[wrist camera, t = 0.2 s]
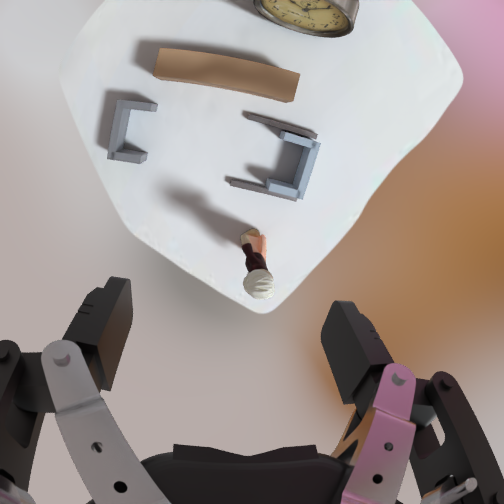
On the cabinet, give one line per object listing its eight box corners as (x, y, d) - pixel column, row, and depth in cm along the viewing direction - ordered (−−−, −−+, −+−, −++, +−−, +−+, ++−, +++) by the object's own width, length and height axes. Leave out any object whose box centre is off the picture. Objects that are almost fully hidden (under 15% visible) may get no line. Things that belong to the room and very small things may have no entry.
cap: (281, 130, 34) (285, 132, 31) (313, 140, 35) (320, 143, 32) (265, 184, 37) (268, 190, 34) (297, 193, 38) (302, 199, 35)
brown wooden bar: (167, 55, 28) (159, 47, 24) (291, 78, 31) (300, 73, 27) (161, 80, 30) (152, 75, 26) (285, 102, 33) (293, 101, 29)
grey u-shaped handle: (125, 100, 30) (117, 99, 27) (157, 104, 31) (152, 103, 28) (115, 155, 33) (106, 158, 30) (146, 160, 34) (139, 164, 31)
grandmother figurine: (277, 253, 42) (295, 307, 31) (254, 266, 43) (265, 323, 31) (249, 211, 39) (260, 255, 27) (225, 226, 39) (226, 275, 28)
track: (248, 114, 33) (249, 114, 32) (315, 133, 34) (317, 134, 34) (230, 184, 37) (230, 185, 36) (294, 199, 38) (296, 201, 38)
